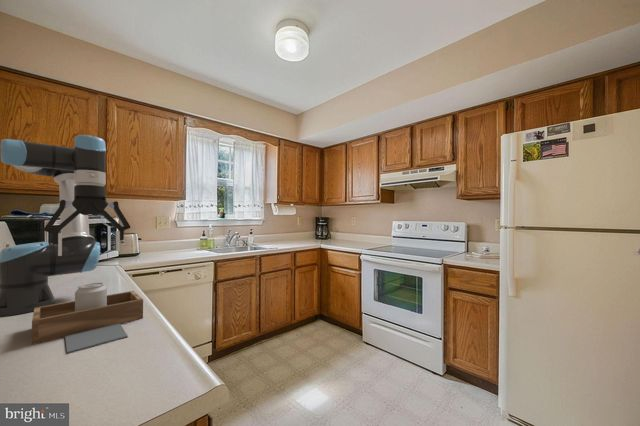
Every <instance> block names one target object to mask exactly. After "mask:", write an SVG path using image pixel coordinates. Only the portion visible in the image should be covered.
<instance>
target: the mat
mask: <svg viewBox="0 0 640 426" xmlns="http://www.w3.org/2000/svg"><path fill="white" fill-rule="evenodd" d="M121 324H122V323H118V324H114V325H110V326H106V327H102V328H97V329H93V330H89V331H85V332H81V333H76V334H72V335H68V336H65V337H64V339H65V349H66V355H67V354H71V353H74V352H78V351H82V350H85V349H86V350H87V349H89V348H93V347H97V346H101V345H105V344H108V343H111V342H115V341H118V340H122V339H125V338H128V337H129V336H128V333H127V332H126V331H125V329H124V328H123V326H122V325H121Z"/></svg>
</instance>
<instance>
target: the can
mask: <svg viewBox="0 0 640 426" xmlns="http://www.w3.org/2000/svg"><path fill="white" fill-rule="evenodd" d="M77 288H78V289H77V290H75V291H74V301H75V312H77V311H82V310H87V309H92V308H97V307H103V306H107V295H108V287H107V286H105V283H104V282H89V283H84V284H81V285H78V287H77Z"/></svg>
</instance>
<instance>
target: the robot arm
mask: <svg viewBox="0 0 640 426" xmlns="http://www.w3.org/2000/svg"><path fill="white" fill-rule="evenodd" d="M106 147H107V146H106V142H105V139H103V138H101V137H98V136H95V135H94V136H93V135H88V134H79V135H76V136H75V137H74V143H73V147H70V146H69V147H67V146H61V145H53V144H47V143H40V142H32V141H26V140H22V139H21V140H20V139H10V138H3V139H2V140H1V142H0V161H1V163H3V164H5V165H10V166H13V168H15V169H16V170H19V171H21V172H24V173H28V174H31V175H35V176H42V177H50V178H53V181H54V182H55V183H56V184H58V186H59V188H58V191H59V192H58V193H59V204H58V205H59V207H58V208H57V209H56V211H55V212H54V214H53V215H52V217H51V218H50V220H48V222H47V224H45V226H44V227H43V231H44V232H47V233H51V234H52V245H50V244H49V242H47V241H38V242H31V243H22V244H16V245H11V246H7V247H4V248H2V249H1V250H0V317H4V316H5V317H6V316H15V315H21V314H27V313H31V312H32V313H33V312H34V308H36V307H42V306H48V305H54V304H55V296H54V294H53V291H52V289H51V287H50V285H49V277H53V276H64V275H71V274H79V273H80V274H82V273H85V272H91V271H94V270H95V269H97V266H98V265H99V264H98V263H99V262H100V261H99V259H100V255H101V243H100V242H98V241H96V239H95V237H94V236H92V235H91V234H90V223H89V215H92V216H98V215H101V216H102V217H103V218H104V219H106V220H107V221H108V222H109V223H110V224H111V225H112V226H113V227H114V228H115V229H116V231H115V251H116V252H120V251H121V241H124V240H125V234H124V233H125V230H126V231H127V230H129V229H130V228H131V225H130V223H129V222H128V220H127V218H126V217H125V215H124V214H123V212H122V211H121V208H120V206H119V202H118V201H116V200H115V201H107V188H106V185H107V183H106V181H107V179H106V178H107V175H106V170H107V169H106V167H107V166H106V162H107V161H106V159H107V158H106V156H107V152H106V151H107V148H106ZM107 207H110V208H111V209H112V210H113V211H114V212H115V214H116V216H117V218H118V219H119V221H120V222H121V223H122V225H123V226H122V225H121V224H120V223H119V222H118V221H117V220H116V219H115V218H113V217H112V216H111V215H110V214H109V213H108V212H107V211H106V210H105V209H106V208H107ZM58 219H60V224H59V225H57V226H56V227H55V228H52V227H53V226H54V224H55V223H56V221H57V220H58ZM117 230H118V231H117ZM59 232H60V233H59Z"/></svg>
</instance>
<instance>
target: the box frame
mask: <svg viewBox="0 0 640 426" xmlns="http://www.w3.org/2000/svg"><path fill="white" fill-rule="evenodd" d="M32 314H33V315H32V320H31V345H36V344H41V343H45V342H49V341H52V340H56V339H61V338H65V336H68V335H72V334H76V333H81V332H85V331H89V330H93V329H97V328H102V327H106V326H110V325H114V324H118V323H120V324H124V323H129V322H133V321H136V320H141V319H144V298H143V297H141V296H140V295H139V294H138V293H136V292H135V291H134V290H131V291H130V290H129V291H125V292H119V293H113V294H107V306H103V307H97V308H92V309H87V310H82V311H77V312H75V300H72V301H65V302H62V303H60V302H59V303H54V304H53V305H48V306H42V307H36V308H34V311H33V312H32Z"/></svg>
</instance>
